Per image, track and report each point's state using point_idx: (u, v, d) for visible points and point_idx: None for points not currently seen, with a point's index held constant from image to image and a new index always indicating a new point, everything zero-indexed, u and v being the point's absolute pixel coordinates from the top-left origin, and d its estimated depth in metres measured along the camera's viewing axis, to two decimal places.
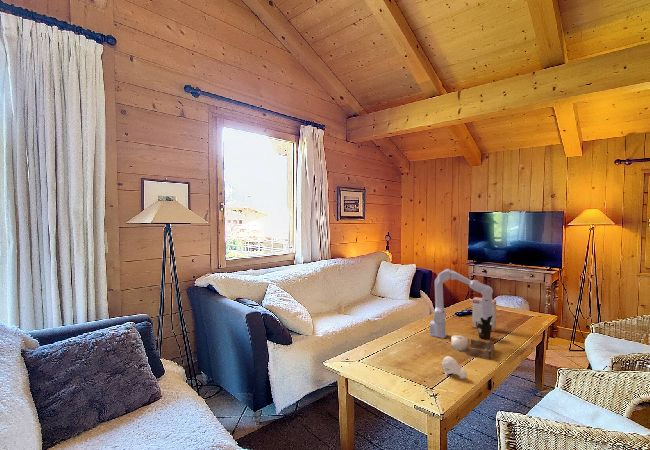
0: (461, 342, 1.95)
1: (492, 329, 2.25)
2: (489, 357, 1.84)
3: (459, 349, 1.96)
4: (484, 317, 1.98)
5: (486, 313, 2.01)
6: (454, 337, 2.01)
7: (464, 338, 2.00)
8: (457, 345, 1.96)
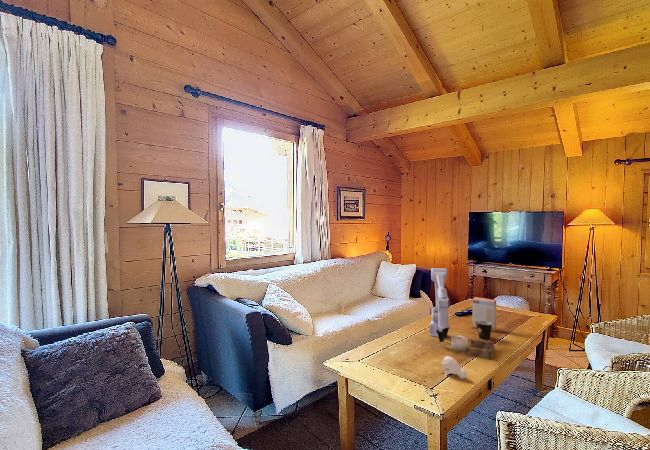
0: (461, 342, 1.95)
1: (492, 329, 2.25)
2: (489, 357, 1.84)
3: (459, 349, 1.96)
4: (439, 329, 1.99)
5: (442, 325, 2.02)
6: (454, 337, 2.01)
7: (464, 338, 2.00)
8: (457, 344, 1.96)
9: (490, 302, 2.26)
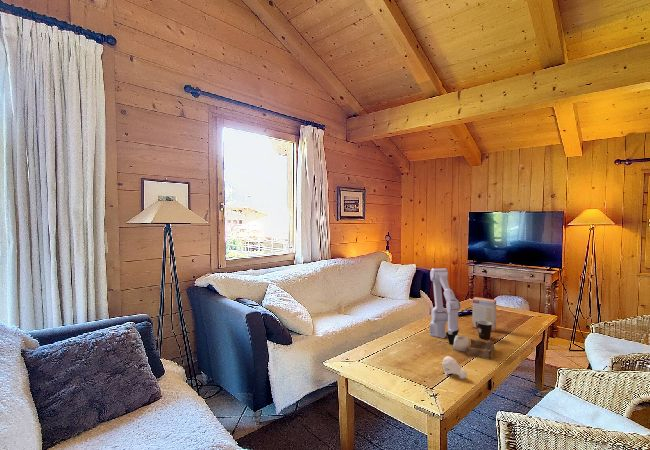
0: (462, 342, 1.95)
1: (492, 329, 2.25)
2: (489, 357, 1.84)
3: (460, 349, 1.95)
4: (449, 332, 1.96)
5: (452, 327, 1.99)
6: (455, 337, 2.00)
7: (465, 338, 1.99)
8: (458, 345, 1.96)
9: (490, 302, 2.26)
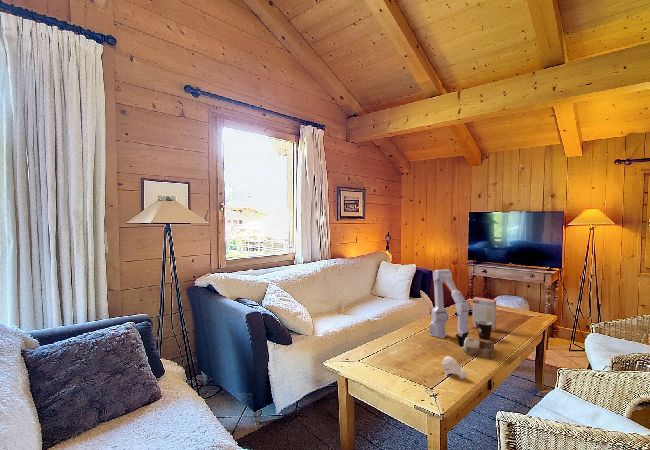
0: (473, 344, 1.92)
1: (492, 329, 2.25)
2: (489, 357, 1.84)
3: None
4: (459, 333, 1.92)
5: (462, 329, 1.96)
6: (465, 339, 1.97)
7: (475, 340, 1.96)
8: None
9: (490, 302, 2.26)
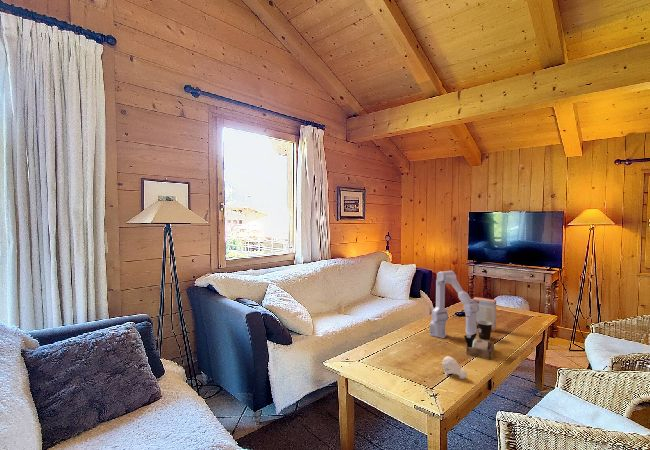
0: (481, 346, 1.89)
1: (492, 329, 2.25)
2: (489, 357, 1.84)
3: None
4: (468, 335, 1.90)
5: (470, 331, 1.93)
6: (474, 340, 1.95)
7: (484, 341, 1.94)
8: (477, 348, 1.90)
9: (490, 302, 2.26)
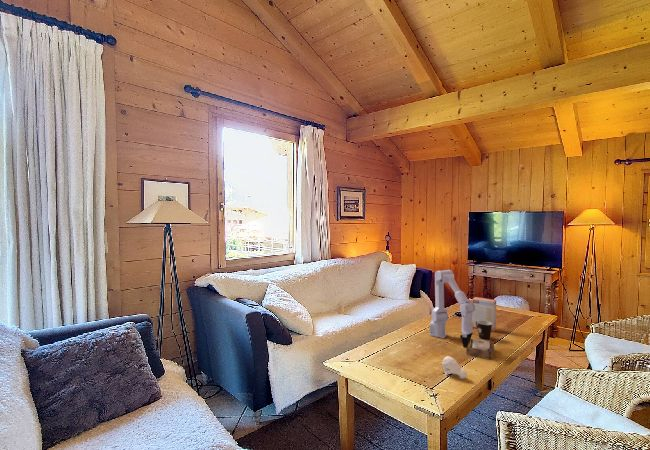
0: (483, 346, 1.89)
1: (492, 329, 2.25)
2: (489, 357, 1.84)
3: None
4: (463, 334, 1.91)
5: (466, 330, 1.95)
6: (475, 341, 1.94)
7: (485, 342, 1.93)
8: None
9: (490, 302, 2.26)
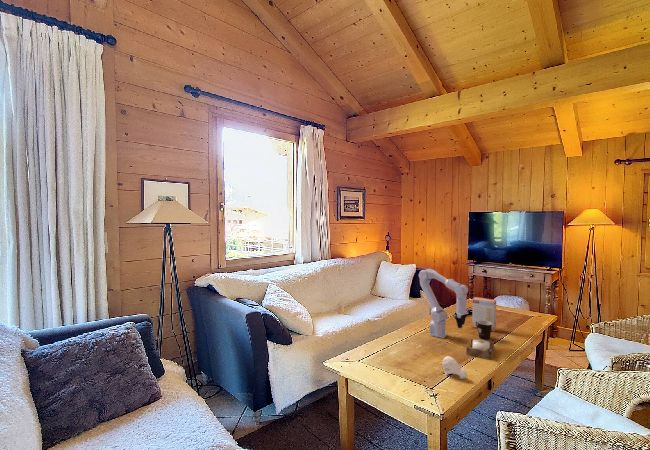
0: (483, 346, 1.89)
1: (492, 329, 2.25)
2: (489, 357, 1.84)
3: None
4: (458, 315, 2.02)
5: (460, 311, 2.05)
6: (475, 341, 1.94)
7: (485, 342, 1.93)
8: None
9: (490, 302, 2.26)
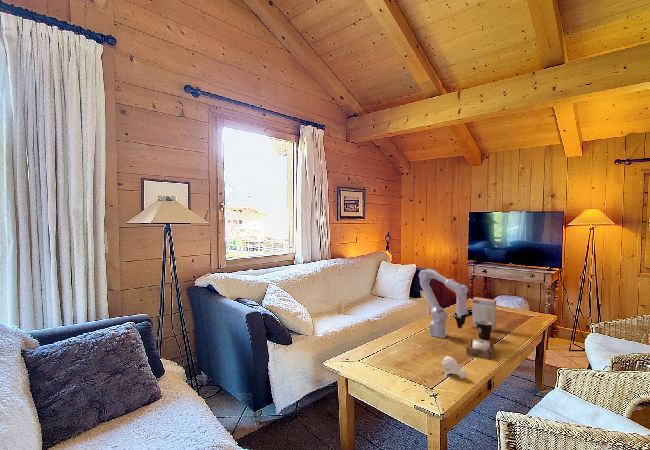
0: (483, 346, 1.89)
1: (492, 329, 2.25)
2: (489, 357, 1.84)
3: None
4: (458, 315, 2.02)
5: (460, 311, 2.05)
6: (475, 341, 1.94)
7: (485, 342, 1.93)
8: None
9: (490, 302, 2.26)
